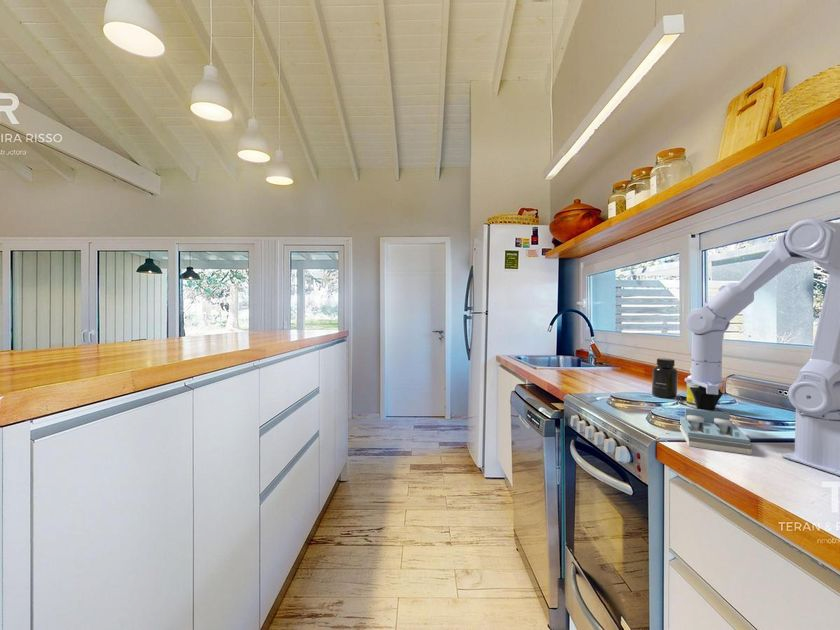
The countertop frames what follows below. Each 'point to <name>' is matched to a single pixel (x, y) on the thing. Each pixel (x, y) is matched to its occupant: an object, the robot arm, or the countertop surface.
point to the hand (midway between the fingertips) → (705, 419)
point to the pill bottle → (691, 394)
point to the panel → (712, 426)
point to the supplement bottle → (665, 379)
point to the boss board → (715, 444)
